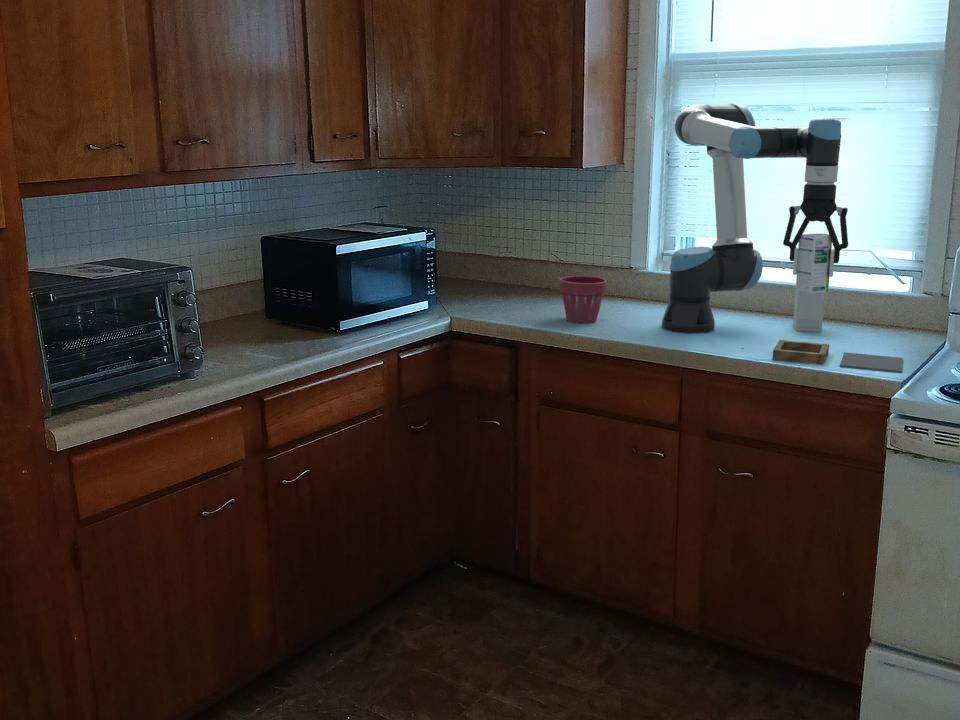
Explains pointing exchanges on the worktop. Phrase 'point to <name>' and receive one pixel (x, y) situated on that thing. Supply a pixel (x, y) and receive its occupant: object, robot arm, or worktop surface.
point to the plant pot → (582, 297)
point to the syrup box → (813, 263)
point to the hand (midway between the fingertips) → (812, 274)
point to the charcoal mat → (871, 362)
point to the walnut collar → (801, 352)
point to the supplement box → (808, 311)
